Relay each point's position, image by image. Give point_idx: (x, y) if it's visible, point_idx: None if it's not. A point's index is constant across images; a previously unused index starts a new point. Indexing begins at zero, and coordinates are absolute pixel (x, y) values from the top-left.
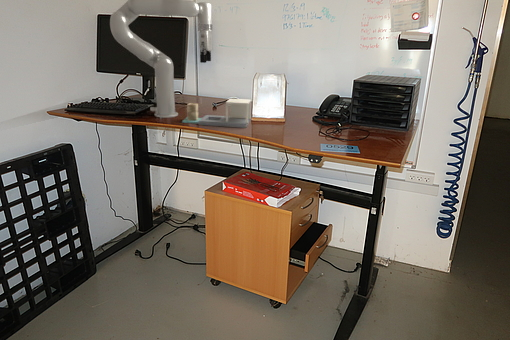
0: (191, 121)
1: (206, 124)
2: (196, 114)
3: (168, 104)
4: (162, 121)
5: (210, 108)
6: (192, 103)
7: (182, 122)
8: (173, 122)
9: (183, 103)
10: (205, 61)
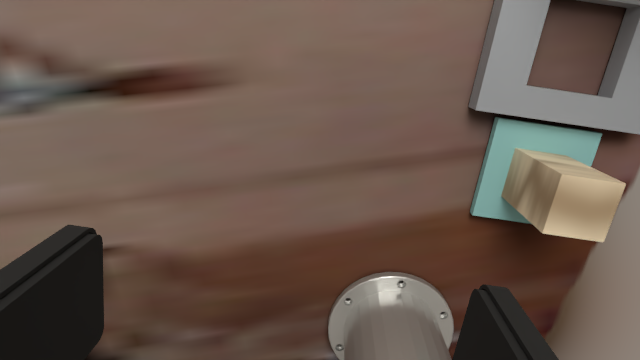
0: None
1: None
2: (571, 162)
3: (448, 352)
4: None
5: (156, 112)
6: (556, 213)
7: None
8: (548, 267)
9: None
10: (508, 307)
